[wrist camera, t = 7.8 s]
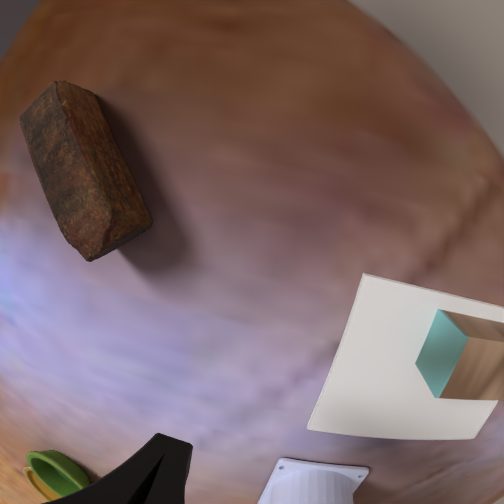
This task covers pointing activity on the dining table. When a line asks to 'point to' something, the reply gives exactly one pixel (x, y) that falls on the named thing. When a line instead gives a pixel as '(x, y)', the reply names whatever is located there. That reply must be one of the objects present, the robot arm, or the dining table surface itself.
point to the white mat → (395, 368)
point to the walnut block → (463, 357)
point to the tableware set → (54, 474)
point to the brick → (83, 171)
